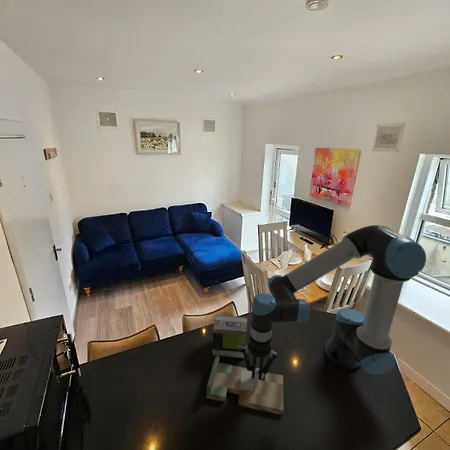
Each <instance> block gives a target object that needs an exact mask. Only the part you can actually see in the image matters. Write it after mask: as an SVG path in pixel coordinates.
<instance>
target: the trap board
mask: <svg viewBox="0 0 450 450" xmlns="http://www.w3.org/2000/svg"><path fill="white" fill-rule="evenodd" d="M242 370H246V371H248V370H247V367H241V366H237V365H236V366H235V365H232V364H230V363H229V364H227V363H223V362H220V356H218V355H215V358H214V361H213V364H212V368H211V371H210V375H209V379H208V381H207V385H206V399H210V400H215V401H219V402H223V403H225V402H226V400H227V394H228V393H230V394H235V395H238V402H237V403H238V404H237V405H238V406H241V407H244V408H245V407H246V408H249V409H254V410H258V411H263V412H267V413H272V414H276V415H281V416H283V415H284V375H282V374H276V373H272V372H268V373H267V374H264V376H265V377H264V379H263V380H258V387H254V389H253V391H248V390H243V389H240V384H241V376H242ZM251 372H252V371H251Z"/></svg>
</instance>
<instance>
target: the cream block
mask: <svg viewBox="0 0 450 450" xmlns="http://www.w3.org/2000/svg"><path fill="white" fill-rule="evenodd" d="M240 389H243V390H248V391H253V389H254V378H252V372H251V371H246V370H242V376H241V384H240Z"/></svg>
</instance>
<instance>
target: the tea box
mask: <svg viewBox="0 0 450 450" xmlns="http://www.w3.org/2000/svg"><path fill="white" fill-rule="evenodd" d="M247 336H248V317H245V316H232V315H221V314H220V315H218V314H215V316H214V322H213V326H212V355H213V356H219V357H221V356H222V357H230V358H241V359H245V358H244V354H243V353H242V351H241V350H242V345H245V346H247V342H248V341H247V339H248V338H247Z"/></svg>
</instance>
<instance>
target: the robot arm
mask: <svg viewBox="0 0 450 450" xmlns="http://www.w3.org/2000/svg"><path fill="white" fill-rule="evenodd" d="M341 239H342V240H341V241H340V242H338V243H336V244H334V245H332V246H331V247H330V248H328V249H326V250H325V251H323V252H321V253H319V254H318V255H316V256H314V257H313V258H311V259H309V260H308V261H306V262H304V263H302V264H301V265H299V266H298V267H296V268H295V269H293V270H290V272H288V273H286V274H284V275H280V274H276V275H275V274H274V275H272V276H271V277H270V278H269V279H268V282H267V287H268V290H269V293H266V292H261V293H257V294H255V296H254V297H253V300H252V305H251V319H250V320H251V321H250V329H249V342H248V343H247V344H246V346H245V345H242V350H241V351H242V353H243V354H244V358H243V359H244V360H245V361H244V362H245V365H246V368H247V370H248V371H252V378H254V387H258V379H259V380H261V379H262V374H263V375H265V374H267V373H269V371H270V368H271V367H272V364H273V362H274V361H275V360H276V359H277V357H278V356H277V355H278V352H277V350H273V349H272V346H271V344H272V343H271V342H272V337H273V336H272V334H273V326H274V324H286V323H287V324H289V323H291V324H292V323H296V324H297V323H302V322H307V321H308V320H309V319H310V316H311V308H310V305H309V303H308V301H307V299H304V298H297V296H296V295H295V294H296V293H297V292H299V291H300V290H302V289H304V288H305V287H307V286H308V285H310V284H312V283H314V282H315V281H317V280H319V279H321V278H323V277H324V276H326V275H328V274H329V273H332V272H334V270H336V269H338V268H340V267H342V266H343V265H344V264H347V263H349V262H350V261H352V260H353V259H361V258H363V257H365V256H369V257H370V258H371V260H372V261H371V264H370V271H371V272H372V274H373V277H372V278H373V279H372V283H371V286H370V287H371V288H370V292H369V295H368V300H367V304H366V309H365V313H364V312H361V311H359V310H357V309H353V308H342V309H339V310H338V311H337V313H336V315H335V321H334V325H333V330H332V336H331V337H330V338H329V339H328V341H327V342H326V344H325V349H324V353H325V356H326V357H327V358H328V360H329V361H330V362H332V363H333V364H334V365H335V366H337V367H338V368H341V369H344V370H351V371H352V370H357V369H358V368H359V367H361V368H362V369H363V370H364V371H365V372H366V373H368V374H369V375H381V374H384V373H386V372H387V371H390V370H391V369H392V368H393V367H394V366H395V363H396V357H395V356H394V354H393V353H392V352H391V347H392V344H393V342H392V338H391V337H390V332H391V329H392V325H393V322H394V318H395V315H396V311H397V307H398V304H399V300H400V297H401V294H402V293H401V292H402V289H403V285H404V283H406V282H408V281H411V278H414V277H416V276H417V275H419V272H422V271H423V269H424V268H425V265H426V263H427V254H426V251H425V249H424V248H423V246H422V245H421V244H420V243H418V242H416V241H415V240H414V239H412V238H411V237H408V236H405V235H403V234H401V233H399V232H398V231H394V230H393V229H391V228H390V227H388V226H384V225H381V224H380V225H379V224H377V225H376V224H374V225H367V226H363V227H361V228H358V229H356V230H354V231H351V232H349V233H347V234H346V235H344V236H343V237H342V238H341ZM249 352H250V354H251V356H252V358H253V359H252V363H251V357H250V354H249ZM267 356H268V358H267V360H266V362H265V365H264V359H265V358H266V357H267ZM257 358H259V367H257Z"/></svg>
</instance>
